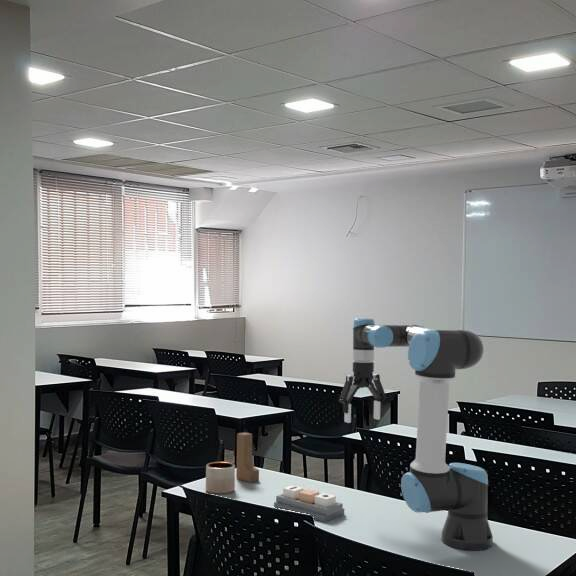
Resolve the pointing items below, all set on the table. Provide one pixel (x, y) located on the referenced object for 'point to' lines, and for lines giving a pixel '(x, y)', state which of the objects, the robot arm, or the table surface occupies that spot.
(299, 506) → the keypad
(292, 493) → the bar key
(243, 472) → the wooden block
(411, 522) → the table surface
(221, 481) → the planter
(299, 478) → the table surface
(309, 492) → the blank key
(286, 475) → the table surface
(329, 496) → the dot key
